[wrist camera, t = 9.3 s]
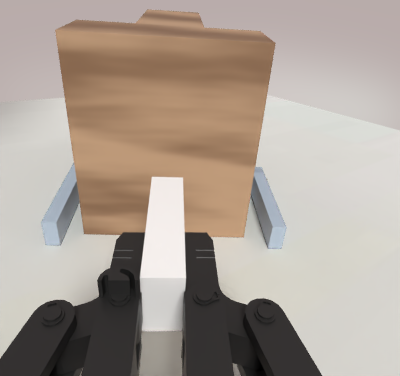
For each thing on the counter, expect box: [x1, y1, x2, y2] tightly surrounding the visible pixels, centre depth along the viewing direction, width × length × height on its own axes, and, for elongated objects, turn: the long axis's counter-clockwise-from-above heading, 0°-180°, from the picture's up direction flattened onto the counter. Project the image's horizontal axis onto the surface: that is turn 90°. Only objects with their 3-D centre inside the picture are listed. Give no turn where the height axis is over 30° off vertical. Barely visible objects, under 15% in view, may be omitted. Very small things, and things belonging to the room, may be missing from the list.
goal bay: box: [41, 163, 286, 249], centre depth 33 cm, size 18×17×2 cm
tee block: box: [55, 10, 275, 237], centre depth 29 cm, size 14×12×14 cm
